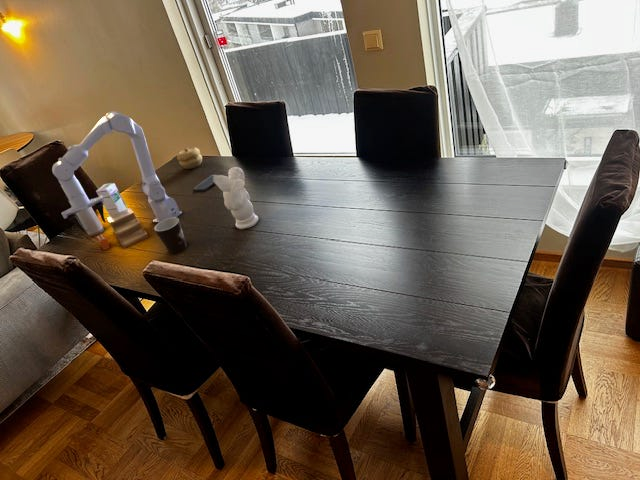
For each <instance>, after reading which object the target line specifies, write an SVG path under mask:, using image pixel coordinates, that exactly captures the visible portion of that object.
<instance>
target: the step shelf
mask: <svg viewBox="0 0 640 480" xmlns="http://www.w3.org/2000/svg"><path fill="white" fill-rule="evenodd" d="M106 220H107V221H108V223H109V225H110V227H111V229H112V231H113V232H114V234H115V235H116V238H117V239H118V241H119V243H120V244H121V246H122V248H123V249H126V248H128V247H130V246H133V245H134V244H135V245H136V243H138V242H141V241H144V240H145V239H147V238H149V235H148V233H147V231H145V229H144V227H143V226H142V224H141V222H140V221H139V219H138V218H137V216H136V214H135V212H134V210H132V208H131V207H129V208H128V209H126V210H124V211H122V212H119V213H117V214H115V215H113V216H110V215H109V216H108V217H106Z"/></svg>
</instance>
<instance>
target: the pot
mask: <svg viewBox="0 0 640 480" xmlns="http://www.w3.org/2000/svg"><path fill="white" fill-rule="evenodd" d="M176 159H177V161H178V163H179V166H180V167H182V168H183V169H185V170H191V169H195V168H198V167H199V166H200V165H201V163H202V162H203V156H202V154H201V151H200V149H199V148H197V147H185V148H184V149H182V150H180V151H179V152H178V153H177V156H176Z"/></svg>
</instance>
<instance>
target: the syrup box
mask: <svg viewBox="0 0 640 480" xmlns="http://www.w3.org/2000/svg"><path fill="white" fill-rule="evenodd" d="M95 192H96V194H97V197H100V196H102V197H103V199H104V201H105V202H103V203H102V204H103V207H104V208H105V210H106V211H107V213H108V215H109V217H110V216H113V215H115V214H117V213H119V212H122V211H124V210H126V209H129V208H128V206H127V204H126V203H125V200H124V199H123V197H122V194H121V193H120V191H119V189H118V187H117V185H116V184H115V182H109V183H105V184H103V185H102V186H101V187H99V188H98V189H97V190H96V191H95Z"/></svg>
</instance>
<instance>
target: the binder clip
mask: <svg viewBox="0 0 640 480" xmlns="http://www.w3.org/2000/svg"><path fill="white" fill-rule="evenodd" d="M96 239H97V240H98V243H99V244H100V247H101V248H102V249H103V251H106V250H108V249H110V248H111V246H110V244H109V242H108V240H107V239H106V237H105V235H104V234H100V236H99V235H97V238H96Z"/></svg>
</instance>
